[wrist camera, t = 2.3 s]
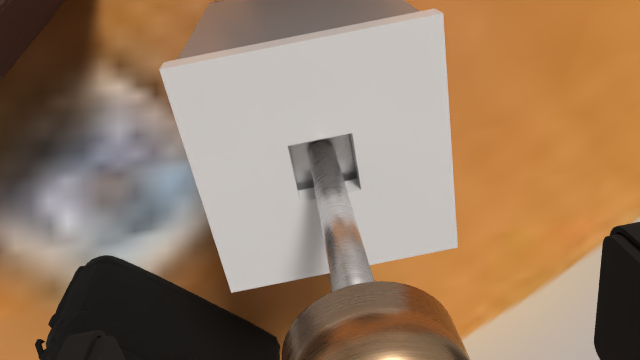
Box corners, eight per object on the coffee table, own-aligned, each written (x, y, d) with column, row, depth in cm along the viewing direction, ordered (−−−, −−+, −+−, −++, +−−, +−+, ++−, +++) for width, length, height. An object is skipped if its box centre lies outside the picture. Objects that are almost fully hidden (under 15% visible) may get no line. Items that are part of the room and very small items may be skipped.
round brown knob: (241, 98, 17) (208, 378, 7) (375, 71, 17) (541, 311, 7) (270, 213, 19) (278, 560, 9) (390, 190, 19) (535, 507, 9)
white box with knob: (204, -1, 26) (159, 69, 15) (364, -33, 26) (443, 13, 15) (254, 189, 31) (250, 351, 20) (388, 162, 31) (461, 308, 20)
